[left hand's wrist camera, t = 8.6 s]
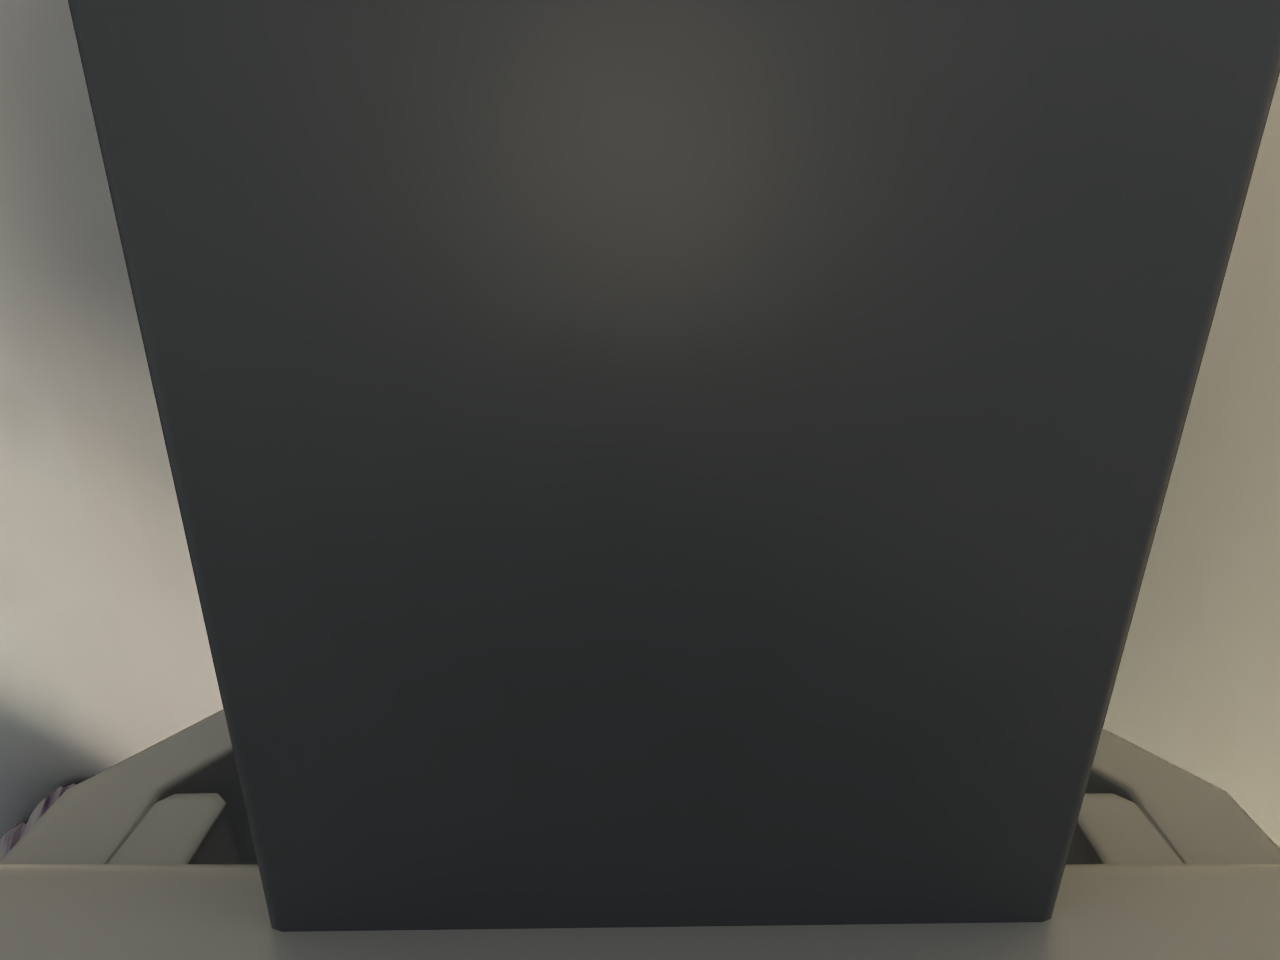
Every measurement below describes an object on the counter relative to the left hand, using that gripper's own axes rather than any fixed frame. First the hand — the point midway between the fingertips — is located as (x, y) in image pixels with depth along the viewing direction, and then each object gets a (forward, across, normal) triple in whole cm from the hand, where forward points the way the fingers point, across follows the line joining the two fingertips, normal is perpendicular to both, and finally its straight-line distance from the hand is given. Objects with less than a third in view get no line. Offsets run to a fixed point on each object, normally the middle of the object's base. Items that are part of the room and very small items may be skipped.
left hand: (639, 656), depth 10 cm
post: (+3, 0, -27) cm, 27 cm away
